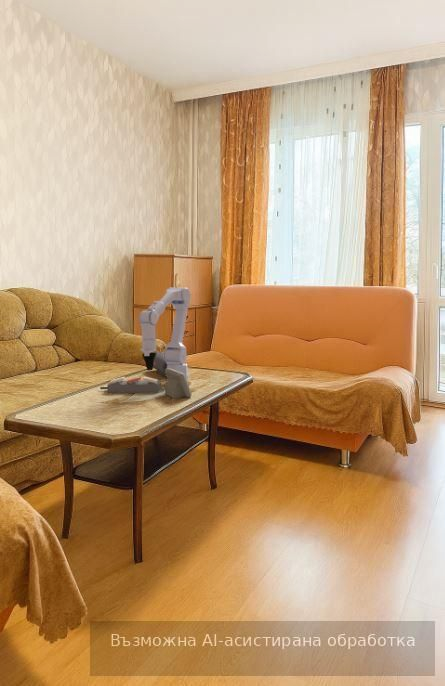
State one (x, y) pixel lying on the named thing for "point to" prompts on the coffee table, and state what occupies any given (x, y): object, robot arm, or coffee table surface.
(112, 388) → the power strip
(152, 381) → the block
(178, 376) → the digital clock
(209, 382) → the coffee table surface
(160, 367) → the bluetooth speaker
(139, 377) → the plate
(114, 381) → the rocker
